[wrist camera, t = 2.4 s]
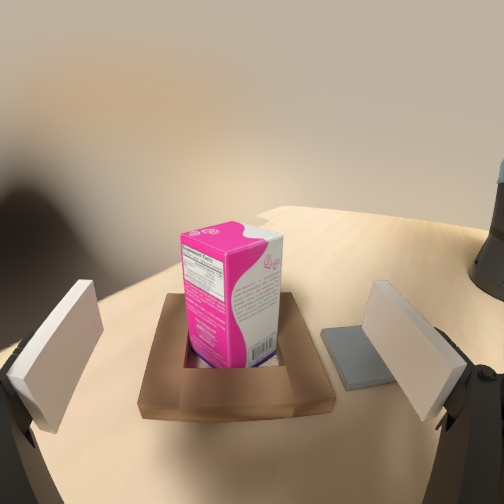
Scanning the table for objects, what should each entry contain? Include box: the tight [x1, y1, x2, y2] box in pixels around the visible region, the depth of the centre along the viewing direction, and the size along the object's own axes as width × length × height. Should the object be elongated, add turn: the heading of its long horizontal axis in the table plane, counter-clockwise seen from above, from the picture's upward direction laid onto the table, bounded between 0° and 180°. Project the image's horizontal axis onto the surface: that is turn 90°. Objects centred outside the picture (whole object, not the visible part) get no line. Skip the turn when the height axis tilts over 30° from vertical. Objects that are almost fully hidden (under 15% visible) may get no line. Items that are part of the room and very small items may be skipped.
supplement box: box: [180, 221, 283, 368], centre depth 24 cm, size 6×6×12 cm
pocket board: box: [137, 292, 336, 422], centre depth 26 cm, size 14×16×2 cm
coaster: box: [321, 325, 396, 391], centre depth 26 cm, size 8×8×1 cm
